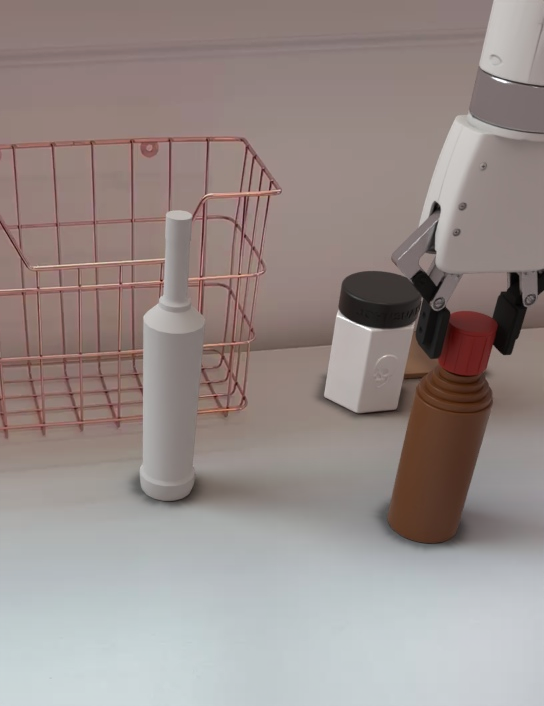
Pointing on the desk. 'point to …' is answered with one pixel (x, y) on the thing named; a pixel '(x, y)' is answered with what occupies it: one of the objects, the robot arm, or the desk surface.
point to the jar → (371, 341)
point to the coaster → (418, 361)
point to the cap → (468, 343)
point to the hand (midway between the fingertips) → (464, 347)
